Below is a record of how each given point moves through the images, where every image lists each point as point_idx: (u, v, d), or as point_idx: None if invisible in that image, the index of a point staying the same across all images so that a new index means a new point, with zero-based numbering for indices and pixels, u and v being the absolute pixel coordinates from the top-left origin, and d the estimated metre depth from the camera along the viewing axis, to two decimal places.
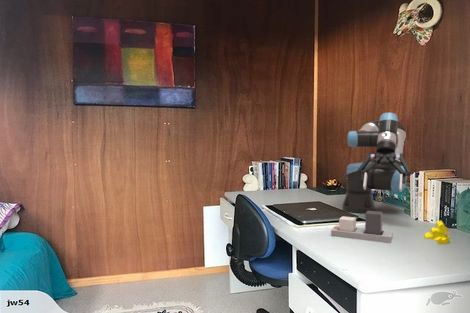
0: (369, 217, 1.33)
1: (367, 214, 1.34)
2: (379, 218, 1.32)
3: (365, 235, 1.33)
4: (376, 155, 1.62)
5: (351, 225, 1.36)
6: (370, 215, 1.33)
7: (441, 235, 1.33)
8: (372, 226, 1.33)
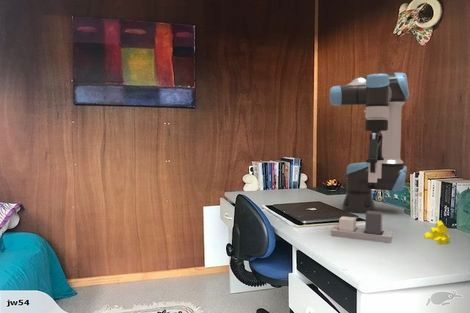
0: (369, 217, 1.33)
1: (367, 214, 1.34)
2: (379, 218, 1.32)
3: (365, 235, 1.33)
4: None
5: (351, 225, 1.36)
6: (370, 215, 1.33)
7: (441, 235, 1.33)
8: (372, 226, 1.33)
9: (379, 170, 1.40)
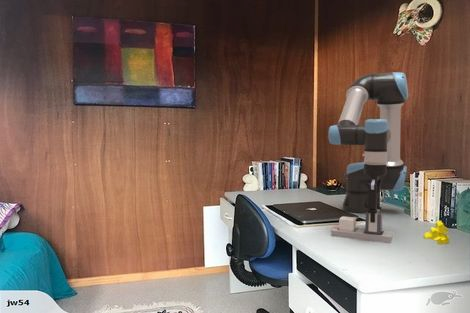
0: None
1: (367, 214, 1.34)
2: (379, 218, 1.32)
3: (365, 235, 1.33)
4: None
5: (351, 225, 1.36)
6: None
7: (440, 235, 1.33)
8: None
9: None
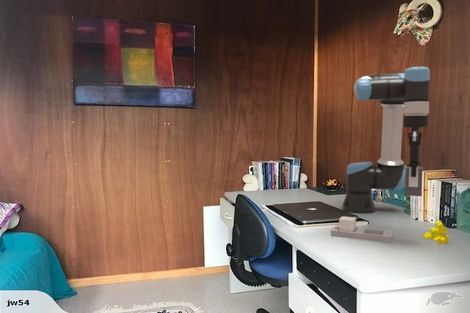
0: None
1: (407, 169, 1.26)
2: (420, 172, 1.24)
3: (365, 235, 1.33)
4: None
5: (351, 225, 1.36)
6: None
7: (440, 235, 1.33)
8: None
9: None
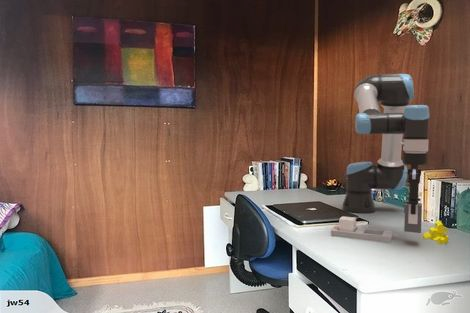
0: None
1: (407, 205, 1.27)
2: (420, 209, 1.25)
3: (365, 235, 1.33)
4: None
5: (351, 225, 1.36)
6: None
7: (440, 235, 1.33)
8: None
9: None
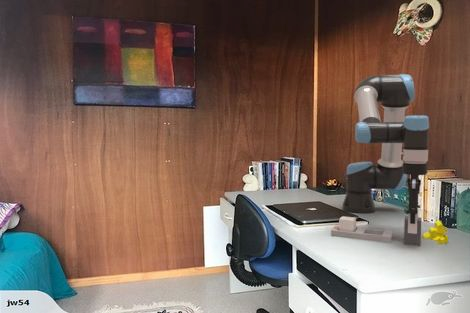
0: None
1: (406, 220, 1.27)
2: (419, 224, 1.25)
3: (365, 235, 1.33)
4: None
5: (351, 225, 1.36)
6: None
7: (440, 235, 1.33)
8: (411, 233, 1.27)
9: None
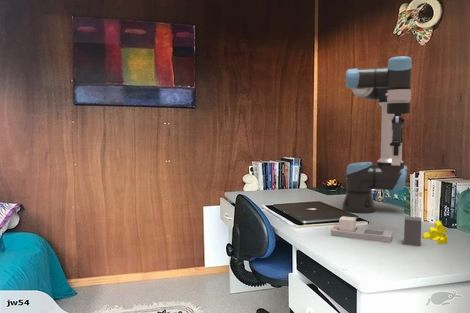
0: (408, 223, 1.27)
1: (406, 220, 1.27)
2: (419, 224, 1.25)
3: (365, 235, 1.33)
4: None
5: (351, 225, 1.36)
6: (409, 221, 1.27)
7: (439, 235, 1.33)
8: (411, 233, 1.27)
9: None
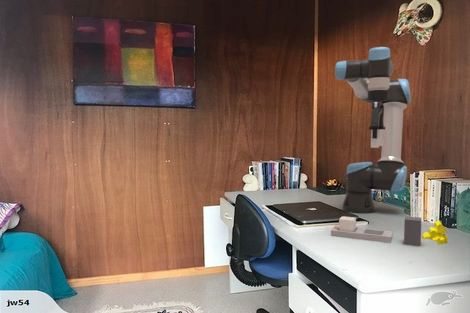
0: (408, 223, 1.27)
1: (406, 220, 1.27)
2: (419, 224, 1.25)
3: (365, 235, 1.33)
4: None
5: (351, 225, 1.36)
6: (409, 221, 1.27)
7: (439, 235, 1.33)
8: (411, 233, 1.27)
9: (381, 138, 1.50)
